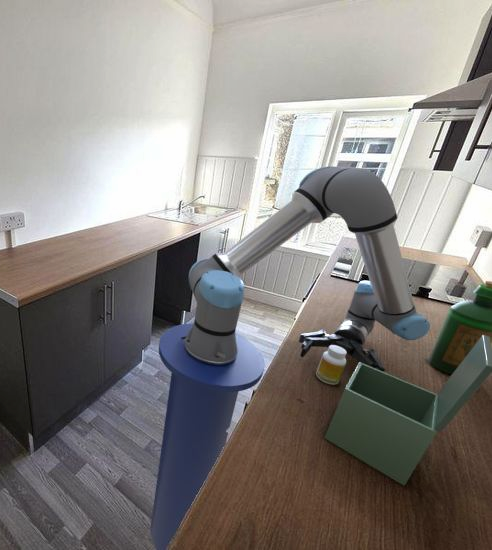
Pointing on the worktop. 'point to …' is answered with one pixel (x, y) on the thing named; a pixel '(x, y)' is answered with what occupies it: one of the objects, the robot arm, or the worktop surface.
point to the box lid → (464, 382)
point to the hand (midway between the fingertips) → (330, 365)
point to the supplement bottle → (332, 365)
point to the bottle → (463, 329)
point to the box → (384, 422)
